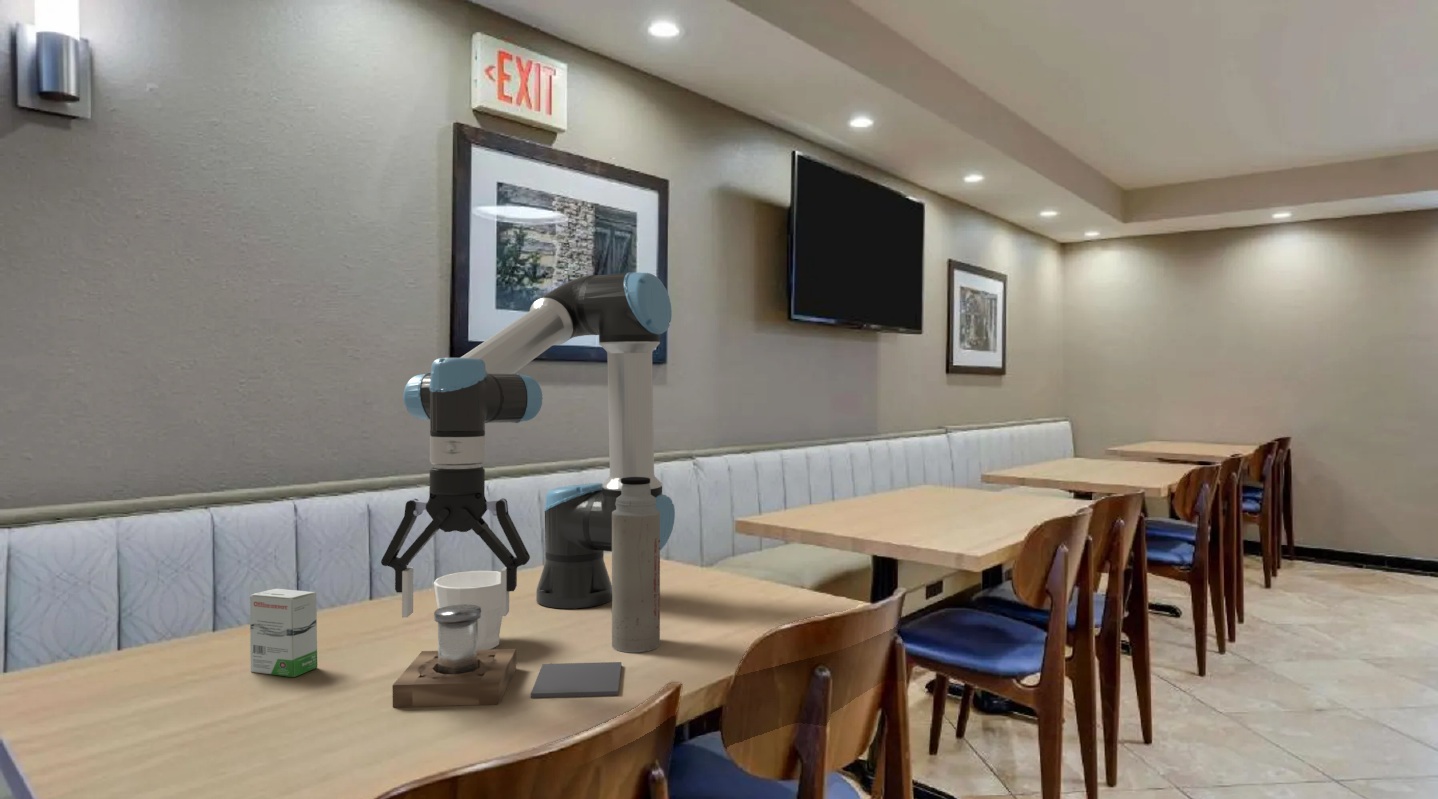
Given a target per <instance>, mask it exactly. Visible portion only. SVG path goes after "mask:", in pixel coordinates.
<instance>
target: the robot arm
mask: <svg viewBox="0 0 1438 799" xmlns="http://www.w3.org/2000/svg"><path fill="white" fill-rule="evenodd" d="M672 312H673V311H672V303H671V298H670V296H669V293H668V290H667V288H666V287H665V286H664V283H663V282H662V281H661V279H659V277H657V276H656V275H654V274H653V273H650V272H634V271H633V272H632V271H631V272H621V273H620V272H619V273H612V274H611V273H610V274H608V273H607V274H599V275H597V274H596V275H592V274H591V275H585V276H581V277H578V278H575V279H573V280H569V281H568V282H566V283H564V284H562V285H560V286H557V287H556V288H554V289H553V290H551V291H549V292H547V293H546V294H544V295H543V296H541V297H539V298H537V300H535V301H533V303H532V304H531V305H530V308H529V311H528V312H526V313H525V314H524V315H522V316H521V317H519V318H518V319H517V320H515V321H513V322H511V323H510V324H508V325H507V326H505V327H504V328H503V329H501V330H499V331H498V332H497V333H495V334H493V335H492V336H491V337H488V338H487V339H485V341H483V342H482V343H480V344H479V345H477V346H475V347H474V348H472V349H471V350H470V351H468V352H467V353H465V354H464V355H462V356H460V357H439V358H436V359H434V361H433V362H432V364H431V366H430V372H427V373H424V374H417V375H414V376H413V377H411V378H410V379H409V380H407V383H406V385H405V386H404V390H403V403H404V405H405V409H406V410H407V412H408V413H409V415H411V416H412V417H413V418H415V419H417V420H423V421H424V420H425V421H429V428H430V429H429V435H430V436H429V463H430V464H431V465H434V466H433V467H432V468H431V469H430V470H429V488H428V489H429V492H428V493H429V495H428V496H429V498H428V500H427V501H423V500H419V499H418V498H412V499H410V500H408V501H406V503H405V508H404V515H403V518H402V520H401V522H400V524H399V525H398V528H397V530H395V531H396V532H395V533H394V535H393V538H392V539H391V541H390V542H389V544H388V547H387V549H386V550H385V552H384V554H383V557H382V558H381V561H380V563H381V565H382V566H383V567H390V568H392V569H393V571H394V575H395V576H394V590H395V592H396V593H401V618H408V617H410V616H411V615H412V614H413V613H414V567H413V566H411V567H410V566H409V564H410V563H411V562H412V560H414V558H415V557H416V556H417V555H418V554H419V553H420V551H421V550H422V549H423V548H424V547H425V546H426V544H428V542H429V541H430V540H431V539H432V537H433V536H434V535H435V534H436V533H437V532H438V531H439V530H441V531H443V532H444V533H451V532H460V533H467V532H468V531H471V530H472V531H473V532H474V533H475V534H476V535H477V536H479V538H480V539H481V540H482V541H483V543H485V545H486V546H487V547H488V548H489V549H490V550H491V551H492V553H493V554H494V555H495V556H496V557H497V558H498V560H499V561H500V562H501V564H503V567H502V568H501V570H500V572H501V602H500V616H502V617H507V615H508V613H509V612H510V592H515V590H516V588H517V586H518V584H517V583H518V582H517V581H518V579H517V578H518V574H517V573H518V567H521V566H524V565H526V564H527V563H528V562H529V561H530V560H531V555H530V554H529V552H528V550H527V547H526V546H525V543H524V542H523V540H522V538H521V536H520V534H519V532H518V530H517V527H516V525H515V523H514V522H513V520H512V517H511V515H510V514H509V505H508V501H507V499H506V498H501V499H499V500H491V501H488V500H487V498H486V496H485V495H486V494H485V488H486V487H485V486H486V485H485V484H486V480H485V479H486V477H485V476H486V473H485V471H486V470H485V469H484V467H483V466H481V465H482V464H484V463H485V462H486V436H485V435H486V424H488V423H489V424H495V423H496V424H504V423H505V424H506V423H511V424H512V423H513V424H514V423H515V424H519V423H521V422H528V421H530V420H532V419H534V418H535V417H536V416H537V415H538V414H539V412H540V410H541V408H542V406H543V390H542V388H541V386H540V384H539V383H538V381H537V380H536V379H535V378H533V377H531V376H529V375H525V374H520V373H517V372H519V371H520V370H521V369H523V368H524V367H525V366H527V365H528V364H529V363H531V362H532V361H533V360H534V359H536V358H538V357H539V356H540V355H541V354H543V353H544V352H546V351H548V349H549V348H551V347H552V346H555V345H556V346H557V345H558V346H559V345H563V344H565V343H567V342H568V341H569V340H571V339H573V338H577V337H578V338H579V337H584V336H598V340H599V341H598V344H599V345H600V347H601V348H603V349H604V350H605V351H606V354H607V356H606V357H607V394H608V395H607V398H608V404H607V405H608V406H607V407H608V442H609V444H608V447H609V448H608V450H609V451H608V452H609V456H608V458H609V477H608V478H607V479H606V480H605V482H604V483H602V482H591V483H590V482H589V483H581V484H574V485H573V484H572V485H568V486H559V487H554V488H551V489H550V490H548V492H547V493H546V494H545V505H544V510H543V512H544V542H545V543H544V546H545V547H544V548H545V550H544V551H545V553H544V555H545V557H544V558H545V559H544V565H543V569H542V571H541V574H540V578H539V580H538V584H537V587H536V592H535V593H536V594H535V595H536V599H535V600H536V603H537V604H538V605H541V606H544V607H547V608H554V609H582V608H583V609H584V608H589V607H590V608H591V607H596V606H600V605H603V604H607V603H608V602H610V601H612V580H611V579H610V575H609V573H608V570H607V567H606V562H605V558H604V556H605V555H604V552H609V553H610V552H611V553H612V512H613V511H614V510H616V505H615V503H616V498H617V497H619V496H620V495H621V487H622V483H621V479H622V478H626V477H646V478H650V487H651V495H652V496H654V497H655V498H656V503H657V504H656V510H659V511H660V551H661V550H662V549H663V548H665V546H666V545H667V543H668V540H669V539H670V537H671V536H672V532H673V528H674V524H675V518H676V515H675V514H676V512H675V505H674V503H673V500H672V498H671V497H669V496H667V495H666V494H663V483H662V482H661V481H660V479H659V478H657V477H656V476H655V442H654V436H655V434H654V386H653V383H654V380H653V379H654V378H653V352H654V350H656V348H657V347H658V346H659V345H660V344H661V335H662V334H664V333H666V331H668V330H669V328H670V323H671V321H672V318H673V317H672V316H673V314H672ZM424 510H425V511H426V512H427V514H428V515H429V517H430V518H431V519H432V520H431V522H429V524H428V525H427V526H426V527H425V528H424V530H423V531H422V533H420V535H419V536H418V537H417V538H416V539H415V541H413V542H412V544H411V545H410V546H409V547H408V548H407V549H406V551H405V552H404V553H403V554H402V555H401V556H400V557H398V555H399V553H400V551H401V549H402V547H403V545H404V544H405V541H406V539H407V537H408V536H409V533H410V532H411V530H412V528H413V526H414V524H415V522H416V520H417V519H418V517H419V516H420V515H422V514H423V512H424ZM488 510H489V511H490V512H491V514H492V516H495V517H497V518H496V519H497V521H498V523H499V525H500V527H501V530H502V531H503V534H504V535H505V537H506V539H507V542H508V543H509V545H510V547H511V549H512V551H513V552H514V555H515V556H514V555H513V554H512V552H511V551H510V550H509V549H508V548H507V546H506V545H505V544H504V543H503V541H502V540H500V538H499V537H498V536H497V535H496V534H495V533H494V531H493V530H492V529H491V528H490V527H489V524H488V523H487V522H486V521H485V520H484V519H483V516H484V515H485V513H486V512H487V511H488ZM509 591H510V592H509Z"/></svg>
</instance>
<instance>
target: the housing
mask: <svg viewBox="0 0 1438 799" xmlns="http://www.w3.org/2000/svg"><path fill="white" fill-rule="evenodd" d="M516 669H517V649H516V648H507V649H506V648H504V649H503V648H502V649H500V648H499V649H498V648H497V649H495V648H493V649H490V650H478V669H476V670H474V671H472V672H467V673H462V674H441V673H438V650H421V652H420V653H419V654H418V655H417V656H416V658H414V660H413V661H412V662H411V664H410V665H409V666H408V667H407V668H406V669H404V671H403V673H401V675H400V676H399V677H398V678H397V680H395V681H394V683H393V684H392V708H410V707H411V708H414V707H416V708H417V707H447V706H451V707H452V706H478V705H479V706H485V705H486V706H488V705H489V706H490V705H499V704H500V702H501V701H502V699H503V696H504V694H505V692H506V690H507V688H508V686H509V684H510V682H511V679H512V677H513V676H514V674H515V672H516Z"/></svg>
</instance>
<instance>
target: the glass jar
mask: <svg viewBox="0 0 1438 799" xmlns="http://www.w3.org/2000/svg"><path fill="white" fill-rule="evenodd" d="M433 613H434V615H433V618H434V619H433V621H434V622H436V623H437V651H438V673H441V674H462V673H467V672H472V671H474V670H476V669H478V619H479V618H480V617H481V608H480V607H479V606H476V605H467V604H463V605H451V606H446V607H442V608H437V609H436V610H434V612H433Z"/></svg>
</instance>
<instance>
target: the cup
mask: <svg viewBox="0 0 1438 799" xmlns="http://www.w3.org/2000/svg"><path fill="white" fill-rule="evenodd" d="M433 589H434V594H435V595H434V596H435V600H436V607H437V609H439V608H442V607H446V606H451V605H463V604H467V605H476V606H479V607H480V608H481V617H480V618H479V619H478V650H492V649H495V648H496V647H498V646H499V645H500V633H501V627H502V621H503V616H500V602H501V571H496V570H495V571H494V570H470V571H469V570H468V571H459V572H455V573H450V574H449V573H448V574H445V575H443V576H440V577H437V578H436V579H435V580H434V582H433ZM510 592H511V591H509V593H510Z"/></svg>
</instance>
